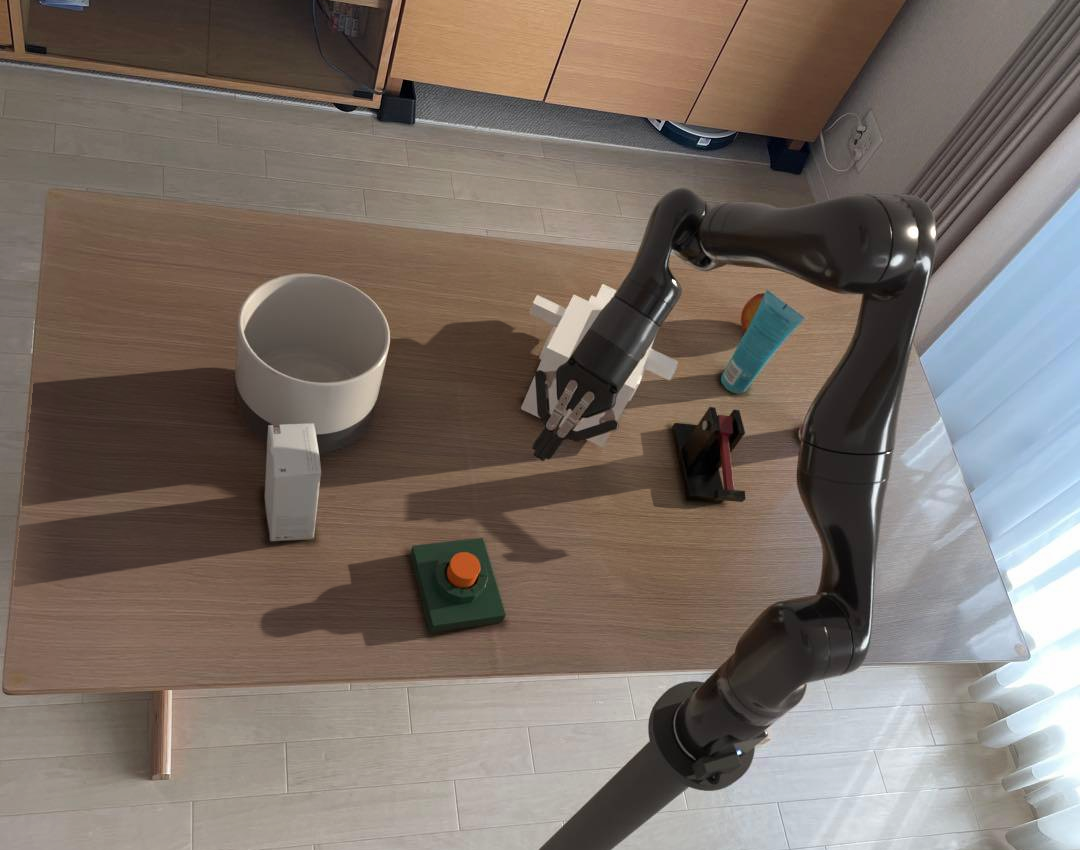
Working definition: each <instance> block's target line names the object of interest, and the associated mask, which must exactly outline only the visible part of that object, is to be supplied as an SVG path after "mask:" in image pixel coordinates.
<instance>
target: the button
mask: <svg viewBox="0 0 1080 850" xmlns="http://www.w3.org/2000/svg"><path fill="white" fill-rule="evenodd" d="M479 572H480V563H479V561H478V559H477V558H476V557H475V556H474V555H472V554H470V553H467V552H461V553H457V554H456V555H454V556H453V557H452V559H451V561H450V563H449V566H448V568H447V572H446V575H447V578H448V580H449V582H450V583H451V584H452V585H454V586H455V587H458V588H468V587H470V586H472V585H473V584H474V582H475V580H476V578H477V576H478V574H479Z"/></svg>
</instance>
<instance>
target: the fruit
mask: <svg viewBox="0 0 1080 850" xmlns="http://www.w3.org/2000/svg"><path fill="white" fill-rule="evenodd" d="M764 294H765V292H764V293H763V292H761V293H756V294H755V295H754V296H753V297H751V298H750V299H749V300H748V301H747V302H746V303H745V304H744V306H743V309H742V310H741V314H740V324H741V325H740V326H741V328H742V329H741V330H742V331H743V333H744V334H745V332H746V330H747V329H748V327H749V325H750V323H751V321H752V319H753V317H754V315H755V313H756V311H757V309H758V307H759V305H760V303H761V301H762V299H763V296H764Z"/></svg>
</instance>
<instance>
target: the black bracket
mask: <svg viewBox="0 0 1080 850" xmlns="http://www.w3.org/2000/svg"><path fill="white" fill-rule="evenodd" d="M729 416H732V424H733V434H732V435H731V436H729V437H728V439H729V448H730V454H731V453H732V452H733V451H734V449H735V448H736V447H737V446H738V445H739V443H740V441H741V440H742V439H743V437H744V436H745V435H746V431H745V427H744V423H743V418H742V415H741V411H740V409H733V410H732V411H731V412H730V414H729ZM670 428H671V433H672V438H673V442H674V448H675V452H676V457H677V463H678V468H679V472H680V476H681V481H682V486H683V491H684V495H685V500H686V501H687V502H700V503H711V504H723V502H724V501H722V500H714V491H715V490H716V489H724V484H723V480H722V476H721V473H720V469H721V468H722V464H721V454H720V445H719V439H718V438H716V437H717V436H718V434H719V433H720V431H721V429H720V425H719V421H718V412H717V408H716V407H715V406H709V407H708V408H707V410H706V411H705V413H704V415H703V416H702V417H701V419H700V420H699V422H698V424H691V423H683V422H682V423H681V422H674V423H673V425H672V426H671V427H670Z"/></svg>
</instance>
